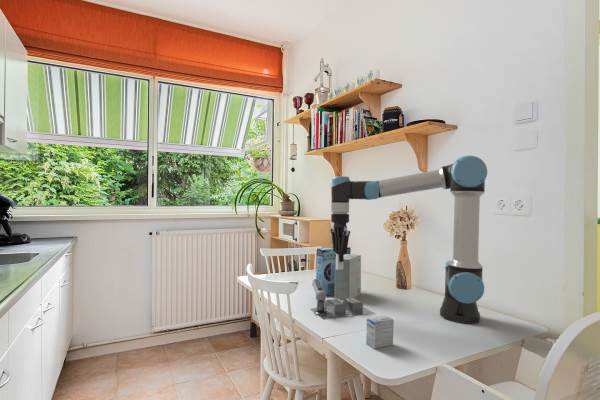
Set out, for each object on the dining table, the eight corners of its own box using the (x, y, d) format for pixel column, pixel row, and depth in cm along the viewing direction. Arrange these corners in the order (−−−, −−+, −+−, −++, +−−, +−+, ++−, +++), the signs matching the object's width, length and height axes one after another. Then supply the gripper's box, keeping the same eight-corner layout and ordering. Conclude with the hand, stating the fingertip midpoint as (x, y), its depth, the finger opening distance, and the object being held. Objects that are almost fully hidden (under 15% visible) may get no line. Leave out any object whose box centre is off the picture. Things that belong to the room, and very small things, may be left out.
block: (362, 312, 147) (362, 302, 147) (352, 313, 145) (352, 303, 145) (352, 306, 154) (353, 297, 154) (342, 307, 152) (343, 298, 152)
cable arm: (326, 300, 142) (326, 291, 142) (316, 300, 142) (316, 291, 142) (319, 285, 167) (319, 277, 167) (311, 285, 166) (311, 277, 166)
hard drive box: (346, 292, 180) (347, 253, 180) (361, 294, 176) (362, 255, 176) (333, 299, 167) (334, 257, 167) (348, 302, 163) (349, 259, 163)
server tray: (375, 315, 146) (376, 300, 146) (322, 321, 136) (322, 305, 136) (358, 305, 159) (358, 291, 159) (307, 310, 149) (308, 296, 149)
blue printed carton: (343, 288, 187) (344, 245, 187) (350, 291, 183) (351, 247, 183) (315, 293, 176) (316, 248, 176) (321, 296, 172) (322, 249, 172)
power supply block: (345, 314, 144) (346, 303, 144) (334, 315, 142) (335, 304, 142) (336, 308, 151) (336, 298, 151) (326, 309, 149) (326, 299, 149)
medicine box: (384, 340, 119) (384, 315, 119) (393, 345, 115) (394, 319, 115) (365, 344, 116) (366, 318, 116) (374, 349, 112) (375, 322, 112)
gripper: (356, 213, 143) (355, 271, 143) (340, 212, 155) (339, 266, 155) (339, 213, 140) (339, 272, 140) (325, 212, 152) (324, 267, 152)
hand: (339, 269), depth 148 cm, fingers closed
